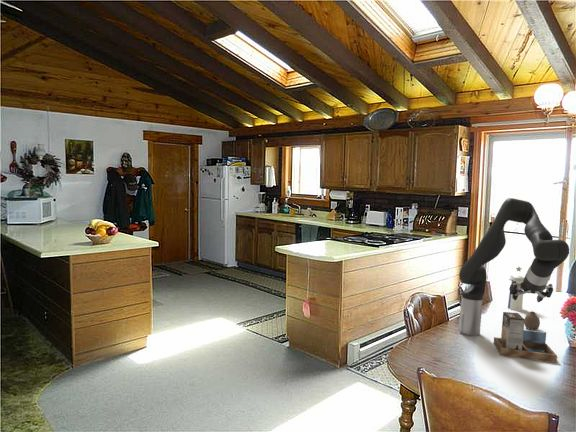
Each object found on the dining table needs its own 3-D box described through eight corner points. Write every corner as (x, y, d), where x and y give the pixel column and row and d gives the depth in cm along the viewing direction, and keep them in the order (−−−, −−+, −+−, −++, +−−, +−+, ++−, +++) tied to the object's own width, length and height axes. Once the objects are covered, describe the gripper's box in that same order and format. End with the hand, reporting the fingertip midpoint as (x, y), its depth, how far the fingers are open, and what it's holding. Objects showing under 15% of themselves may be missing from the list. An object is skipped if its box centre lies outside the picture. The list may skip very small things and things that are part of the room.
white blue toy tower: (504, 306, 253) (507, 265, 251) (519, 307, 252) (522, 266, 250) (509, 310, 245) (512, 268, 243) (525, 311, 244) (528, 269, 242)
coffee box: (499, 346, 188) (502, 311, 186) (515, 347, 186) (518, 312, 185) (506, 354, 179) (509, 317, 177) (522, 356, 177) (525, 319, 176)
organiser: (500, 355, 177) (502, 337, 177) (493, 343, 191) (494, 326, 190) (556, 362, 172) (558, 343, 171) (545, 349, 185) (546, 332, 185)
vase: (533, 332, 208) (535, 314, 208) (520, 327, 215) (522, 310, 214) (542, 330, 212) (543, 313, 211) (528, 325, 218) (530, 309, 217)
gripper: (556, 270, 158) (544, 292, 170) (515, 267, 161) (505, 289, 173) (561, 286, 153) (547, 309, 165) (518, 283, 157) (508, 305, 168)
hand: (526, 299), depth 169 cm, fingers open, 8 cm apart
